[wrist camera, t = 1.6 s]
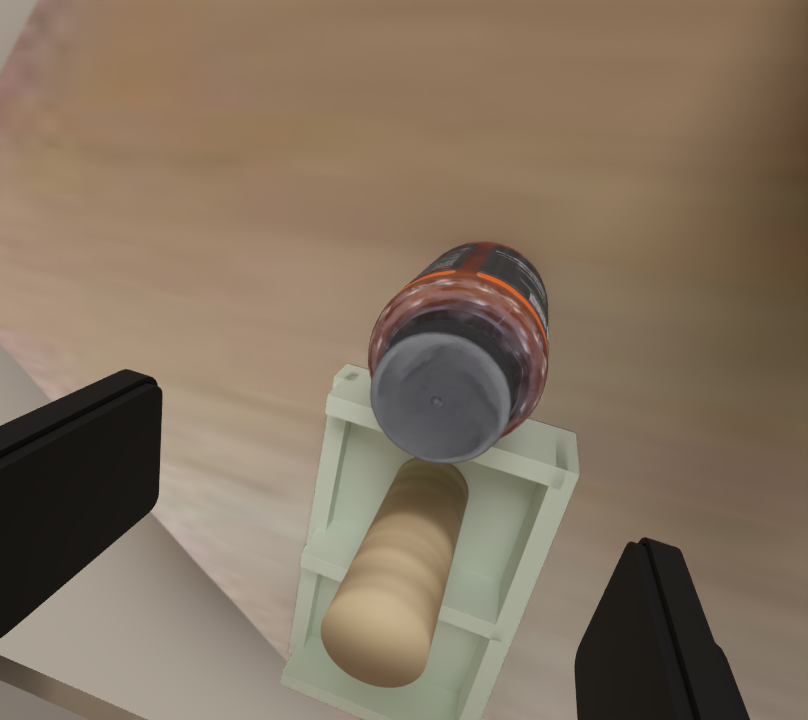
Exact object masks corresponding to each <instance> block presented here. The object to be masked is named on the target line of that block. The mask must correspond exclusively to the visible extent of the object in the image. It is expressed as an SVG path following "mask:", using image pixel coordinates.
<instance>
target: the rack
mask: <svg viewBox="0 0 808 720" xmlns="http://www.w3.org/2000/svg"><path fill="white" fill-rule="evenodd" d="M370 390H371V378H370V374H369V370H367V369H364V368H360V367H357V366H354V365H350V364H346V365H345V366H344V367H343V368H342V369H341V370H340V371H339V372H338V373H337V374H336V375H335V376H334V382H333V388H332V391H331V392H330V393H329V394H328V398H327V404H326V410H325V414H328V417H327V423H326V429H325V435H324V441H323V447H322V453H321V459H320V464H319V470H318V476H317V482H316V488H315V494H314V500H313V506H312V512H311V518H310V524H309V529H308V535H307V541H306V547H305V548H304V550H303V551H302V554H301V560H300V566H299V567H302V571H301V577H300V583H299V589H298V594H297V600H296V606H295V612H294V618H293V624H292V630H291V636H290V642H289V648H288V654H291V657H290V659H289V660H288V662H287V664H286V666H285V668H284V670H283V672H282V675H281V681H280V684H281V685H283V686H286V687H288V688H290V689H293V690H295V691H297V692H300V693H302V694H305V695H307V696H309V697H312V698H314V699H316V700H319V701H321V702H323V703H326V704H328V705H331V706H333V707H335V708H338V709H340V710H342V711H345V712H347V713H349V714H352V715H354V716H357V717H359V718H361V719H364V720H480V719H481V717H482V714H483V712H484V709H485V707H486V704H487V702H488V699H489V697H490V694H491V692H492V689H493V687H494V684H495V682H496V680H497V677H498V675H499V672H500V670H501V667H502V665H503V662H504V660H505V657H506V655H507V652H508V650H509V648H510V645H511V643H512V640H513V638H514V635H515V633H516V630H517V628H518V625H519V623H520V620H521V618H522V615H523V613H524V611H525V608H526V606H527V603H528V601H529V598H530V596H531V593H532V591H533V588H534V586H535V583H536V581H537V579H538V576H539V574H540V571H541V569H542V566H543V564H544V561H545V559H546V556H547V554H548V551H549V549H550V546H551V544H552V542H553V539H554V537H555V534H556V532H557V529H558V527H559V524H560V522H561V519H562V517H563V514H564V512H565V510H566V507H567V505H568V502H569V500H570V497H571V495H572V492H573V490H574V487H575V485H576V482H577V480H578V477H579V475H580V473H579V462H578V451H577V441H576V433H573V432H570V431H567V430H564V429H560V428H557V427H554V426H551V425H547V424H544V423H541V422H537V421H534V420H531V419H528V418H527V419H526V420H525V421H524V422H523V423H522V424H521V425H520V426H519V427H518V428H516V429H515V430H514V431H512V432H511V433H509V434H508V435H506V436H504V437H502V438H500V439H499V440H498V441H497V442H496V443H495V444H494V445H493V446H492V447H491V448H490V449H488V450H487V451H486V452H485V453H483V454H481V455H480V456H478V457H476V458H474V459H471V460H468V461H465V462H460V463H454V464H452V465H453V466H455V467H456V468H457V469H458V470H459V471H460V472H461V474H462V475H463V477H464V478H465V480H466V483H467V486H468V492H469V495H468V501H467V505H466V509H465V513H464V517H463V521H462V525H461V529H460V533H459V537H458V541H457V545H456V549H455V553H454V557H453V561H452V565H451V569H450V573H449V577H448V581H447V585H446V589H445V593H444V597H443V601H442V605H441V609H440V613H439V617H438V620H437V624H436V628H435V632H434V636H433V640H432V644H431V648H430V652H429V656H428V660H427V664H426V667H425V670H424V672H423V673H422V675H421V676H420V677H419V678H418V679H417V680H415V681H414V682H412V683H410V684H408V685H405V686H402V687H396V688H383V687H377V686H373V685H369V684H366V683H364V682H361V681H359V680H357V679H355V678H353V677H352V676H350V675H349V674H347V673H346V672H344V671H343V670H342V669H341V668H339V667H338V666H337V665H336V664H335V663H334V661H333V660H332V659H331V658H330V656H329V655H328V653H327V652H326V650H325V648H324V645H323V642H322V639H321V623H322V620H323V618H324V616H325V614H326V612H327V610H328V608H329V606H330V604H331V602H332V600H333V598H334V596H335V594H336V592H337V590H338V588H339V586H340V584H341V582H342V581H343V579H344V577H345V575H346V573H347V571H348V569H349V567H350V565H351V563H352V561H353V559H354V557H355V555H356V553H357V551H358V549H359V547H360V545H361V543H362V541H363V539H364V537H365V535H366V533H367V531H368V529H369V527H370V525H371V523H372V521H373V519H374V517H375V516H376V514H377V512H378V510H379V508H380V506H381V504H382V502H383V500H384V498H385V496H386V494H387V492H388V490H389V488H390V486H391V484H392V482H393V480H394V478H395V476H396V474H397V472H398V470H399V469H400V467H401V466H402V465H403V464H404V463H406V462H407V461H409V460H410V459H413V458H416V457H414V456H412V455H410V454H408V453H406V452H404V451H403V450H401V449H400V448H399V447H397V446H396V445H395V444H394V443H393V442H392V441H391V440H390V439H389V438H388V437H387V436H386V435H385V433H384V432H383V430H382V429H381V427H380V426H379V424H378V422H377V420H376V418H375V415H374V413H373V410H372V406H371V399H370Z"/></svg>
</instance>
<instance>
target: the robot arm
mask: <svg viewBox="0 0 808 720" xmlns="http://www.w3.org/2000/svg"><path fill="white" fill-rule="evenodd" d="M161 421H162V390H161V388H159V387H158V385H157V382H156V380H155V379H154V378H153V377H150V376H147V375H144V374H141V373H138V372H135V371H132V370H127V369H125V370H121V371H119V372H117V373H115V374H112V375H110V376H108V377H106V378H104V379H102V380H99V381H97V382H95V383H93V384H91V385H88V386H86V387H84V388H82V389H80V390H78V391H75V392H73V393H71V394H69V395H67V396H64V397H62V398H60V399H58V400H56V401H54V402H51V403H49V404H47V405H45V406H43V407H40V408H38V409H36V410H34V411H32V412H30V413H27V414H25V415H23V416H21V417H19V418H16V419H14V420H12V421H10V422H8V423H6V424H4V425H1V426H0V638H1V637H3V636H4V635H5V634H7V633H8V632H9V631H10V630H12V629H13V628H14V627H15V626H16V625H18V623H20V622H21V621H22V620H23V619H25V618H26V617H27V616H28V615H29V614H30V613H32V612H33V611H34V610H35V609H36V608H37V607H39V606H40V605H41V604H42V603H43V602H45V601H46V600H47V599H48V598H49V597H50V596H52V595H53V594H54V593H55V592H56V591H57V590H59V589H60V588H61V587H62V586H63V585H64V584H66V583H67V582H68V581H69V580H70V579H72V578H73V577H74V576H75V575H76V574H77V573H79V572H80V571H81V570H82V569H83V568H84V567H86V566H87V565H88V564H89V563H90V562H91V561H93V560H94V559H95V558H96V557H97V556H99V555H100V554H101V553H102V552H103V551H104V550H105V549H107V548H108V547H109V546H110V545H111V544H112V543H113V542H115V541H116V540H117V539H119V538H120V537H121V536H122V535H123V534H124V533H126V532H127V531H128V530H129V529H130V528H131V527H133V526H134V525H135V524H136V523H137V522H138V521H140V520H141V519H142V518H143V517H144V516H145V515H147V514H148V513H149V512H150V511H151V510H152V509H153V507H154V506H155V504H156V502H157V499H158V495H159V475H160V448H161ZM575 685H576V701H577V717H578V720H750V718H749V716H748V713H747V711H746V708H745V705H744V703H743V700H742V697H741V695H740V692H739V690H738V687H737V684H736V682H735V679H734V676H733V674H732V671H731V669H730V666H729V663H728V661H727V658H726V656H725V654H724V652H723V650H722V649H721V648H720V647H719V646H718V645H717V644H716V643H715V642H714V639H713V636H712V633H711V631H710V628H709V625H708V623H707V620H706V617H705V614H704V612H703V609H702V606H701V604H700V601H699V598H698V595H697V593H696V590H695V587H694V585H693V582H692V579H691V576H690V574H689V571H688V568H687V566H686V563H685V560H684V557H683V555H682V553H681V551H680V549H678V548H677V547H674V546H671V545H668V544H664V543H661V542H658V541H655V540H652V539H649V538H646V537H645V538H642V539H641V540H640V541H639V542H638V543H634V542H629V543H628V544H627V545H626V547H625V549H624V551H623V553H622V555H621V558H620V560H619V562H618V564H617V566H616V568H615V570H614V572H613V575H612V577H611V579H610V581H609V583H608V585H607V587H606V589H605V592H604V594H603V596H602V598H601V600H600V602H599V604H598V607H597V609H596V611H595V613H594V615H593V617H592V619H591V621H590V624H589V626H588V628H587V630H586V632H585V634H584V636H583V638H582V641H581V643H580V645H579V647H578V650H577V653H576V658H575ZM0 720H147V719H145V718H142V717H140V716H138V715H136V714H133V713H131V712H129V711H127V710H124V709H122V708H120V707H117V706H115V705H113V704H111V703H108V702H106V701H104V700H101V699H99V698H97V697H95V696H93V695H90V694H88V693H86V692H83V691H81V690H79V689H77V688H74V687H72V686H70V685H67V684H65V683H63V682H60V681H58V680H56V679H54V678H51V677H49V676H47V675H44V674H42V673H40V672H37V671H35V670H33V669H31V668H28V667H26V666H23V665H21V664H19V663H17V662H14V661H12V660H10V659H7V658H5V657H3V656H0Z"/></svg>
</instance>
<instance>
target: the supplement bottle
mask: <svg viewBox="0 0 808 720" xmlns="http://www.w3.org/2000/svg"><path fill="white" fill-rule="evenodd" d="M548 351H549V349H548V302H547V295H546V291H545V287H544V284H543V282H542V279H541V277H540V275H539V273H538V272H537V270H536V269H535V267H534V266H533V265H532V264H531V263H530V262H529V261H528V259H527V258H525V257H524V256H523V255H522V254H520V253H519V252H517V251H516V250H514V249H512V248H509V247H507V246H504V245H501V244H497V243H492V242H472V243H467V244H464V245H461V246H458V247H456V248H453V249H451V250H450V251H448V252H446V253H444V254H443V255H442V256H440V257H439V258H438V259H437V260H435V261H434V262H433V263H432V264H431V265H430V266H429V267H427V268H426V269H425V270H424V271H423V272H421V273H420V274H419V275H418V276H417V277H416V278H415V279H414V280H413V281H411V282H410V283H409V284H408V285H406V286H405V288H404V289H403V290H402V291H400V292H399V293H398V294H397V295H396V296H395V297H394V298H393V299H392V300H391V301H390V302H389V303H388V304H387V306H386V307H385V308H384V310H383V311H382V313H381V314H380V316H379V318H378V320H377V322H376V324H375V326H374V328H373V331H372V335H371V339H370V343H369V352H368V366H369V374H370V378H371V390H370V399H371V406H372V410H373V413H374V415H375V418H376V420H377V422H378V424H379V426H380V427H381V429H382V430H383V432H384V433H385V435H386V436H387V437H388V438H389V439H390V440H391V441H392V442H393V443H394V444H395V445H396V446H397V447H399V448H400V449H401V450H403V451H404V452H406V453H408V454H410V455H412V456H414V457H416V458H418V459H421V460H424V461H428V462H432V463H447V464H454V463H460V462H465V461H468V460H471V459H474V458H476V457H478V456H480V455H481V454H483V453H485V452H486V451H487V450H488V449H490V448H491V447H492V446H493V445H494V444H495V443H496V442H497V441H498V440H499V439H500V438H502V437H504V436H506V435H508V434H509V433H511V432H512V431H514V430H515V429H516V428H518V427H519V426H520V425H521V424H522V423H523V422H524V421H525V420H526V419H527V418H528V417H529V416H530V414H531V413H532V411H533V410H534V409H535V407H536V406H537V404H538V401H539V399H540V398H541V395H542V392H543V389H544V386H545V382H546V378H547V372H548Z"/></svg>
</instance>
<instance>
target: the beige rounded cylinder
mask: <svg viewBox="0 0 808 720" xmlns="http://www.w3.org/2000/svg"><path fill="white" fill-rule="evenodd" d="M468 495H469V492H468V486H467V483H466V480H465V478H464V477H463V475H462V474H461V472H460V471H459V470H458V469H457V468H456V467H455V466H453V465H452V464H447V463H432V462H428V461H424V460H421V459H418V458H413V459H410V460H409V461H407V462H406V463H404V464H403V465H402V466H401V467H400V469H399V470H398V472H397V474H396V476H395V478H394V480H393V482H392V484H391V486H390V488H389V490H388V492H387V494H386V496H385V498H384V500H383V502H382V504H381V506H380V508H379V510H378V512H377V514H376V516H375V517H374V519H373V521H372V523H371V525H370V527H369V529H368V531H367V533H366V535H365V537H364V539H363V541H362V543H361V545H360V547H359V549H358V551H357V553H356V555H355V557H354V559H353V561H352V563H351V565H350V567H349V569H348V571H347V573H346V575H345V577H344V579H343V581H342V582H341V584H340V586H339V588H338V590H337V592H336V594H335V596H334V598H333V600H332V602H331V604H330V606H329V608H328V610H327V612H326V614H325V616H324V618H323V620H322V623H321V639H322V642H323V645H324V648H325V650H326V652H327V653H328V655H329V656H330V658H331V659H332V660H333V661H334V663H335V664H336V665H337V666H338V667H339V668H341V669H342V670H343V671H344V672H346V673H347V674H349V675H350V676H352V677H353V678H355V679H357V680H359V681H361V682H364V683H366V684H369V685H373V686H377V687H383V688H396V687H402V686H405V685H408V684H410V683H412V682H414V681H415V680H417V679H418V678H419V677H420V676H421V675H422V673H423V672H424V670H425V667H426V664H427V660H428V656H429V652H430V648H431V644H432V640H433V636H434V632H435V628H436V624H437V620H438V617H439V613H440V609H441V605H442V601H443V597H444V593H445V589H446V585H447V581H448V577H449V573H450V569H451V565H452V561H453V557H454V553H455V549H456V545H457V541H458V537H459V533H460V529H461V525H462V521H463V517H464V513H465V509H466V505H467V501H468Z"/></svg>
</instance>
